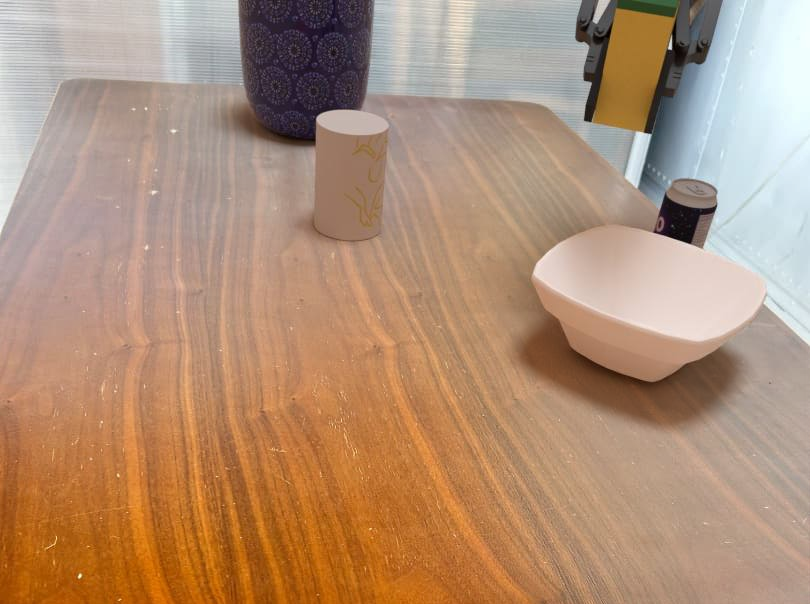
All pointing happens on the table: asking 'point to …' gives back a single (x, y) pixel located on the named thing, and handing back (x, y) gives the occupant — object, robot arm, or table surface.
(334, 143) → the beige patterned cylinder
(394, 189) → the table surface
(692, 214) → the beverage can
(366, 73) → the planter
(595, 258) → the bowl
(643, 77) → the sponge
